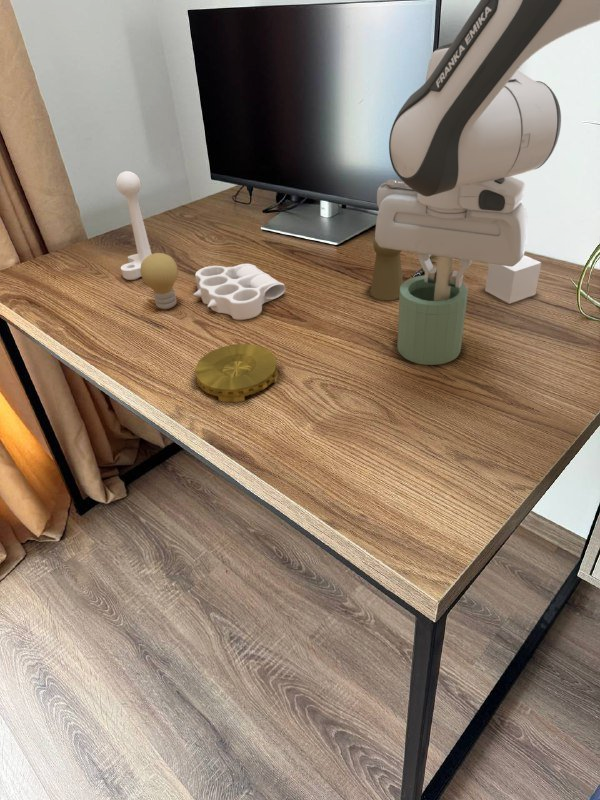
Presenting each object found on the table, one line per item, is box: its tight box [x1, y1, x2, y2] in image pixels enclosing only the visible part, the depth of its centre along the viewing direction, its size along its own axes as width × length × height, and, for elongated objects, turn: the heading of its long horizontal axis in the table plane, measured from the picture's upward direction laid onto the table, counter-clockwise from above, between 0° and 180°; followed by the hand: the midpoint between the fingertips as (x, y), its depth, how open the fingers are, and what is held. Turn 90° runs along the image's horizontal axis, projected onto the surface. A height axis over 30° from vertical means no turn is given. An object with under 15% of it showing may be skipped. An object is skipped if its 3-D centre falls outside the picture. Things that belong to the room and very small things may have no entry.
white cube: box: [484, 254, 542, 305], centre depth 102 cm, size 6×6×6 cm
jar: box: [396, 274, 469, 366], centre depth 88 cm, size 10×10×10 cm
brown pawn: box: [369, 238, 404, 301], centre depth 103 cm, size 6×6×11 cm
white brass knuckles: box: [192, 263, 287, 321], centre depth 108 cm, size 3×18×15 cm
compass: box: [194, 343, 279, 403], centre depth 87 cm, size 12×12×2 cm
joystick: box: [115, 170, 153, 281], centre depth 113 cm, size 11×8×20 cm
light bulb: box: [140, 252, 179, 310], centre depth 104 cm, size 6×6×10 cm
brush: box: [434, 256, 455, 301], centre depth 85 cm, size 4×4×15 cm
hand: (443, 283), depth 84 cm, fingers closed on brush, 2 cm apart
